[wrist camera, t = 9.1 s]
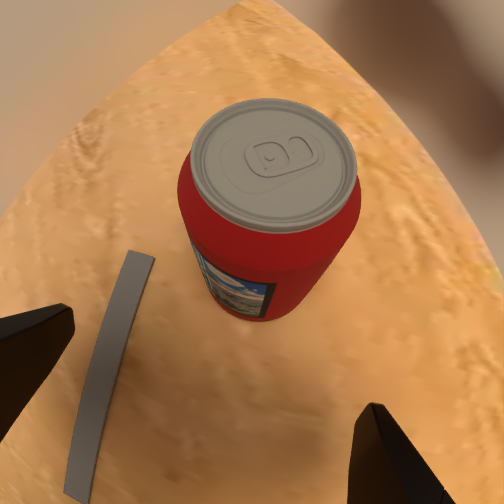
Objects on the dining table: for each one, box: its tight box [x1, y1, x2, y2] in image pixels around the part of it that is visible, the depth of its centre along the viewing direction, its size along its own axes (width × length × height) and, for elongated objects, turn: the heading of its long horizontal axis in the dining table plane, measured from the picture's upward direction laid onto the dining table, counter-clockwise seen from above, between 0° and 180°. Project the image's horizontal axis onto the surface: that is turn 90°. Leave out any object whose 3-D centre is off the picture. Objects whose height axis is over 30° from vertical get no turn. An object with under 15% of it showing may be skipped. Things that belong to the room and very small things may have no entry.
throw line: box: [64, 250, 155, 504], centre depth 17 cm, size 19×2×1 cm, turn 166°
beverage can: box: [177, 98, 361, 321], centre depth 15 cm, size 7×7×12 cm
